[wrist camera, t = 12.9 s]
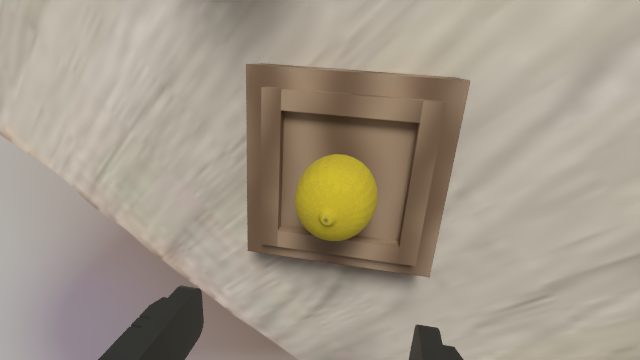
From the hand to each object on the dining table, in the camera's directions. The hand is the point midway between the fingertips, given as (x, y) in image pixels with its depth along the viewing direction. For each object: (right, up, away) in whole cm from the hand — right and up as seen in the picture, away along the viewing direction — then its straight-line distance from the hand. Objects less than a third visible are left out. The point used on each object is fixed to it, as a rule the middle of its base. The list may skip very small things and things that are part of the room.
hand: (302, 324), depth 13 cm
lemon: (+3, +5, +15) cm, 16 cm away
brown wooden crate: (+3, +7, +18) cm, 20 cm away
